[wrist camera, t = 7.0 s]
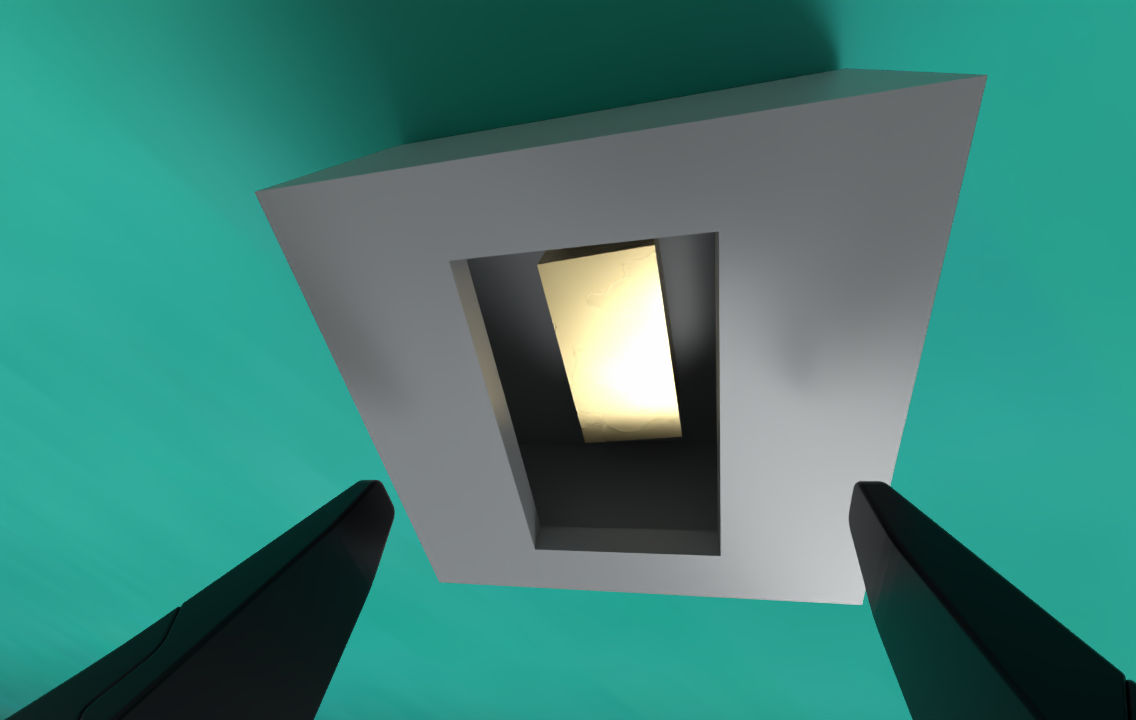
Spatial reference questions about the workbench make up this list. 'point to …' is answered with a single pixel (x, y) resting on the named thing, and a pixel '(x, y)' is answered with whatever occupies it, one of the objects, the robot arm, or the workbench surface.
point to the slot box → (697, 316)
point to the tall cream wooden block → (615, 338)
